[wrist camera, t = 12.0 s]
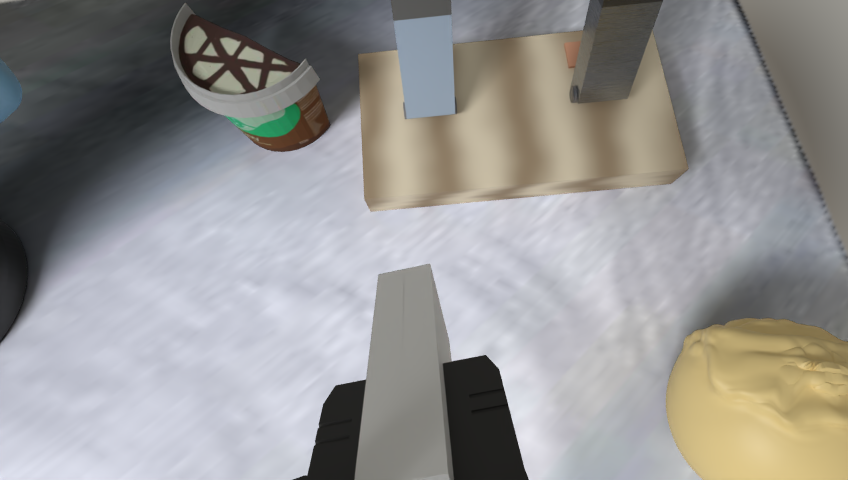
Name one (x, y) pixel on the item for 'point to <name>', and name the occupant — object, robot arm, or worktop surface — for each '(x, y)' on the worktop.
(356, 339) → the worktop surface
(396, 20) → the lever
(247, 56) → the food container
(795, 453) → the pale yellow wrinkled ball
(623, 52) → the lever
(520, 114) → the switch board
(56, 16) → the worktop surface
